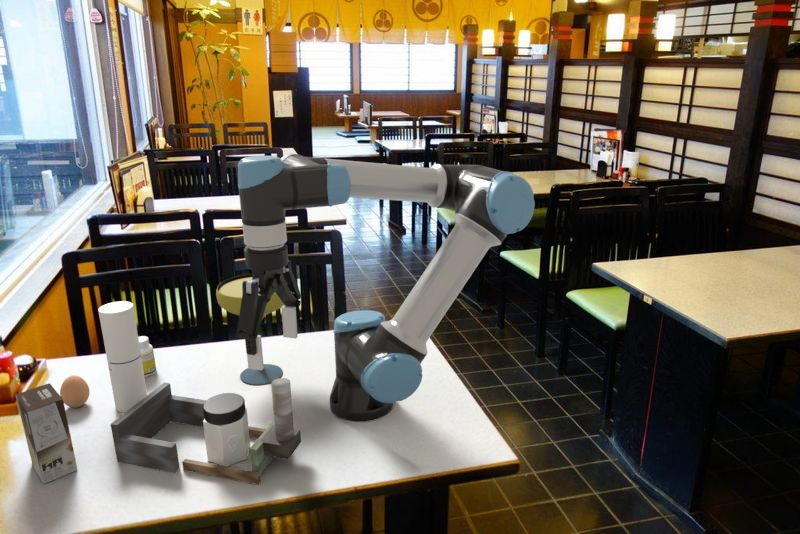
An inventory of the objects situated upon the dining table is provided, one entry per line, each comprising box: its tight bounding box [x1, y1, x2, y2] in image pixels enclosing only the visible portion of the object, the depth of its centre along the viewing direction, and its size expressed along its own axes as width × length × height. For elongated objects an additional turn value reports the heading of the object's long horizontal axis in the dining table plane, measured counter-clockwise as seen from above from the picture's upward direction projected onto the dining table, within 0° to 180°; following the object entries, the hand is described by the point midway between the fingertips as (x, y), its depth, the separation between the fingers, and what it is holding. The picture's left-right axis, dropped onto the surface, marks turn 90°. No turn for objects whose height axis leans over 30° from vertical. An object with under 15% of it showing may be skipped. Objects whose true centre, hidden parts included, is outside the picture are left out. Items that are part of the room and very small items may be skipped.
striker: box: [249, 377, 302, 475], centre depth 117 cm, size 7×11×18 cm, turn 165°
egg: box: [59, 374, 90, 409], centre depth 139 cm, size 6×6×8 cm
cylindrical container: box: [97, 300, 148, 413], centre depth 137 cm, size 7×7×25 cm
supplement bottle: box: [138, 335, 157, 378], centre depth 154 cm, size 5×5×10 cm
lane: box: [110, 382, 267, 485], centre depth 122 cm, size 31×17×9 cm, turn 75°
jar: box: [203, 392, 251, 467], centre depth 121 cm, size 9×8×12 cm
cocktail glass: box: [215, 273, 285, 386], centre depth 150 cm, size 18×18×25 cm
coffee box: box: [15, 382, 78, 484], centre depth 116 cm, size 9×6×16 cm
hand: (274, 352), depth 112 cm, fingers open, 13 cm apart
